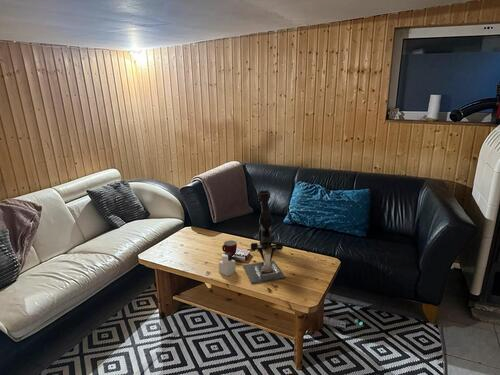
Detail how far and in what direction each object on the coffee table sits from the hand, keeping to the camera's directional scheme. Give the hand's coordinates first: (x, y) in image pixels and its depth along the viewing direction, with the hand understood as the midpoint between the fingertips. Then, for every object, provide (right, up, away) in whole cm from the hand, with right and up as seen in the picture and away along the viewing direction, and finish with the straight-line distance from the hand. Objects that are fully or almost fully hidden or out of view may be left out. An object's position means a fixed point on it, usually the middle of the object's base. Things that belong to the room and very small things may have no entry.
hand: (267, 260), depth 188 cm
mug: (-23, -3, +23) cm, 33 cm away
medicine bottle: (-23, -8, +5) cm, 25 cm away
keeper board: (-2, -8, +4) cm, 9 cm away
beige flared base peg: (0, -6, +3) cm, 7 cm away
